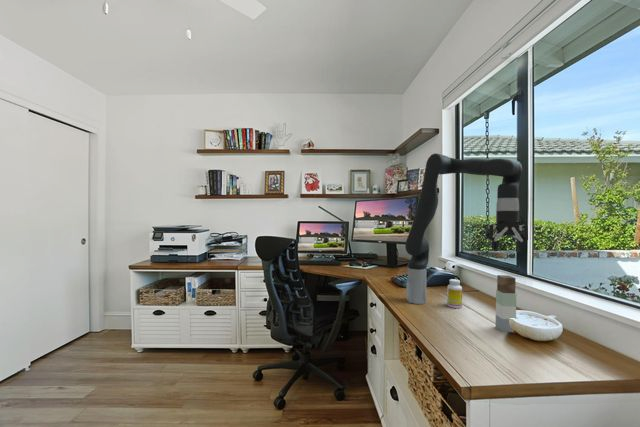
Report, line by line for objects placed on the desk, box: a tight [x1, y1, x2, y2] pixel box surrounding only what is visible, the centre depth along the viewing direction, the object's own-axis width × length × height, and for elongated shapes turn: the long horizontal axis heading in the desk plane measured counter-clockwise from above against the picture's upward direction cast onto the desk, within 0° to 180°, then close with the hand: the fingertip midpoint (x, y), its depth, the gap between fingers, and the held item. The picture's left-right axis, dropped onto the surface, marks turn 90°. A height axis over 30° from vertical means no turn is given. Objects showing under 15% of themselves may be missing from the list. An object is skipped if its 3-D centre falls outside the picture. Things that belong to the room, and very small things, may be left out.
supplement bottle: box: [446, 278, 463, 309], centre depth 142 cm, size 7×7×13 cm
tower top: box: [495, 289, 517, 308], centre depth 115 cm, size 5×5×5 cm
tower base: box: [495, 314, 515, 333], centre depth 115 cm, size 5×5×5 cm
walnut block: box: [496, 274, 517, 293], centre depth 115 cm, size 4×4×6 cm
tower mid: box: [495, 301, 517, 320], centre depth 115 cm, size 5×5×5 cm
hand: (506, 251), depth 114 cm, fingers open, 8 cm apart
